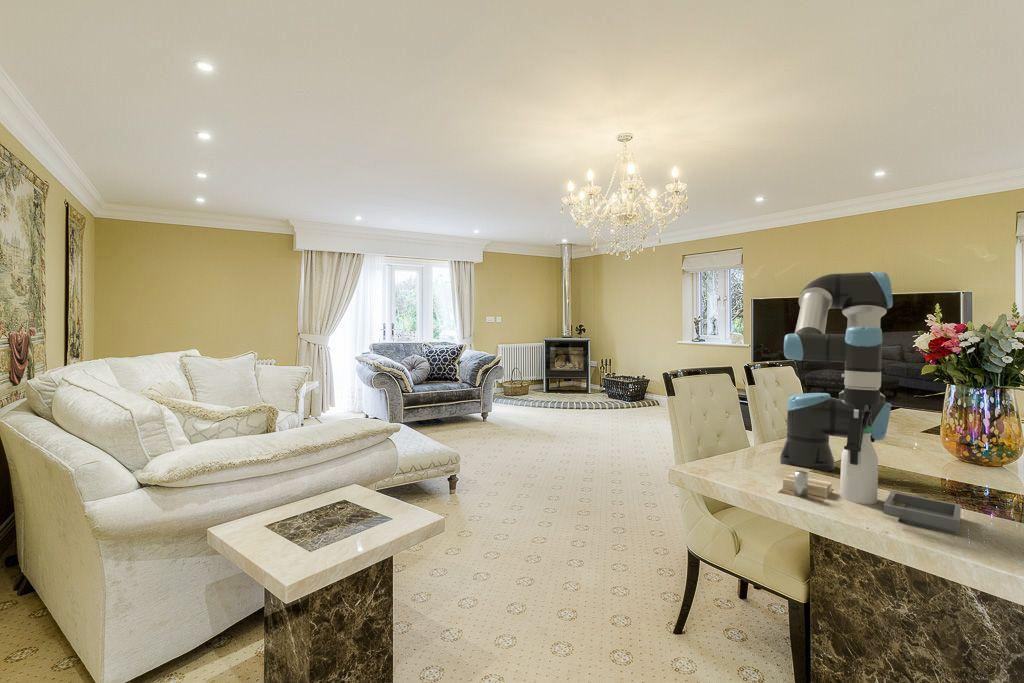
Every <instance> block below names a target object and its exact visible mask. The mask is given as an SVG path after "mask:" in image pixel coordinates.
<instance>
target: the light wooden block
mask: <svg viewBox="0 0 1024 683" xmlns="http://www.w3.org/2000/svg"><path fill="white" fill-rule="evenodd" d="M794 476H795V474H788V475H786V476H785V477H783V479H782V488H784V489H788V490H793V491H794ZM832 486H833V483H832V482H830V481H825V480H820V479H814V478H810V477H808V494H811V495H816V496H820V497H825V499H826V498H828V497H829V496H830V494H831V493H832V492H833V491H832V489H833V488H832Z"/></svg>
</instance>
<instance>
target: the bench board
mask: <svg viewBox="0 0 1024 683" xmlns="http://www.w3.org/2000/svg"><path fill="white" fill-rule="evenodd" d="M834 490H835V489H834V488H832V492H833V491H834ZM778 493H779V494H783V495H788V496H792V497H797V496H795V495H794V491H793V490H788V489H784V488H783V487H782V488H781V489H780V490H779V491H777V494H778ZM797 498H798V497H797ZM799 498H800V499H801V498H802V497H799ZM802 499H803V498H802ZM804 499H806V500H808V501H809V500H810V501H813V502H814V501H815V502H818V503H819V502H820V503H823V502H824V501H825V500H826V498H825V497H820V496H816V495H811V494H808V497H806V498H804Z"/></svg>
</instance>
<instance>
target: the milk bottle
mask: <svg viewBox="0 0 1024 683" xmlns="http://www.w3.org/2000/svg"><path fill="white" fill-rule="evenodd" d="M871 432H872V427H871V426H868V425H867V428H866V429H864V433H863V439H862V445H861V451H862V465H861V479H859V478H853V477H848V476H847V462H848V450H844V449H842V453H841V460H840V476H839V477H840V480H839V482H840V483H839V486H840V487H839V498H841V499H843V500H845V501H848V502H850V503H855V504H861V505H876V504H877V503H878V486H879V484H878V483H879V459H878V458H879V457H878V455H877V452H876V450H875V448H874V446H873V442H871V439H870V436H871V435H872V434H871ZM846 445H847V443H846V444H845V446H846Z"/></svg>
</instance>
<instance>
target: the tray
mask: <svg viewBox="0 0 1024 683" xmlns="http://www.w3.org/2000/svg"><path fill="white" fill-rule="evenodd" d="M896 502H897V503H901V504H904V506H903V507H902V506H898V505H895V503H896ZM882 512H883V513H882V514H885V515H889V516H893V517H898V520H897V522H898V523H903V524H907V525H911V526H912V525H913V526H917V527H920V528H925V529H928V530H933V531H938V532H943V533H947V534H950V535H951V534H952V535H956V536H959V535H960V534H959V533H960V524H961V517H962V516H961V514H962V505H961V504H958V503H953V502H948V501H944V500H943V501H942V500H938V499H934V498H933V499H932V498H926V497H923V496H917V495H911V494H908V493H902V492H901V493H900V492H897V491H890V492H889V495H888V496H887V498H886V500H885V501H884V503H883V511H882Z"/></svg>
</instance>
